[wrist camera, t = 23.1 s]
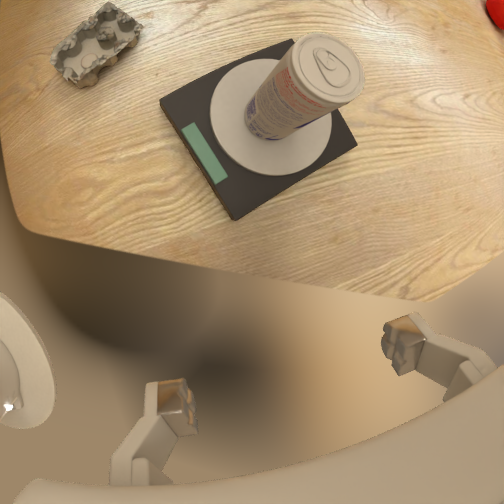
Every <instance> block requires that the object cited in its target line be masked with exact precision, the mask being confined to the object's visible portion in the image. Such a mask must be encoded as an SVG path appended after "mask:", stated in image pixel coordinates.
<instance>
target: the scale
mask: <svg viewBox="0 0 504 504" xmlns="http://www.w3.org/2000/svg"><path fill="white" fill-rule="evenodd" d="M294 43H295V42H294V41H293V40H292V39H289V40H286V41H284V42H281V43H278V44H275V45H273V46H270V47H267V48H265V49H262V50H260V51H257V52H255V53H252V54H250V55H248V56H245V57H243V58H241V59H238V60H236V61H234V62H232V63H229V64H227V65H225V66H223V67H221V68H218V69H216V70H214V71H212V72H210V73H208V74H206V75H204V76H202V77H200V78H198V79H196V80H194V81H192V82H190V83H188V84H187V85H185V86H183V87H181V88H179V89H177V90H175V91H174V92H172V93H170V94H168V95H167V96H165V97H163V98H161V99H160V100H159V101H160V106H161V108H162V109H163V111H164V113H165V114H166V116H167V117H168V119H169V121H170V122H171V124H172V125H173V127H174V129H175V130H176V132H177V133H178V135H179V136H180V138H181V140H182V141H183V143H184V144H185V146H186V148H187V149H188V151H189V152H190V154H191V156H192V157H193V159H194V160H195V162H196V164H197V165H198V167H199V168H200V170H201V171H202V173H203V175H204V176H205V178H206V179H207V181H208V183H209V184H210V186H211V187H212V189H213V191H214V192H215V194H216V195H217V197H218V198H219V200H220V202H221V203H222V205H223V206H224V208H225V210H226V211H227V213H228V214H229V216H230V218H231V219H232V220H234V221H237V220H238V219H240V218H241V217H243V216H244V215H246V214H248V213H249V212H251V211H252V210H254V209H255V208H257V207H258V206H260V205H262V204H263V203H265V202H266V201H268V200H269V199H271V198H273V197H274V196H276V195H277V194H279V193H281V192H282V191H284V190H285V189H287V188H289V187H290V186H292V185H293V184H295V183H297V182H298V181H300V180H301V179H303V178H305V177H306V176H308V175H309V174H311V173H313V172H314V171H316V170H318V169H319V168H321V167H323V166H324V165H326V164H327V163H329V162H331V161H332V160H334V159H336V158H337V157H339V156H341V155H342V154H344V153H346V152H347V151H349V150H351V149H352V148H354V147H356V146H357V145H358V144H357V142H356V141H355V139H354V137H353V135H352V133H351V131H350V130H349V128H348V126H347V124H346V122H345V121H344V119H343V117H342V115H341V114H340V112H339V110H338V109H336V110H334V111H332V112H330V113H328V114H326V115H324V116H323V117H321V118H319V119H317V120H315V121H313V122H311V123H310V124H308V125H306V126H304V127H302V128H300V129H299V130H297V131H295V132H293V133H292V134H290V135H288V136H286V137H285V138H283V139H280V140H277V141H268V140H264V139H261V138H259V137H257V136H256V135H255V134H253V133H252V132H251V130H250V129H249V128H248V126H247V124H246V121H245V108H246V105H247V104H248V102H249V101H250V99H251V98H252V97H253V95H254V94H255V93H256V91H257V90H258V88H259V87H260V86H261V85H262V83H263V82H264V81H265V79H266V78H267V77H268V75H269V74H270V73H271V71H272V70H273V69H274V68H275V66H276V65H277V64H278V63H279V61H280V60H281V59H282V57H283V56H284V55H285V54H286V52H287V51H288V50H289V49H290V48H291V46H292V45H293V44H294Z"/></svg>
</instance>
